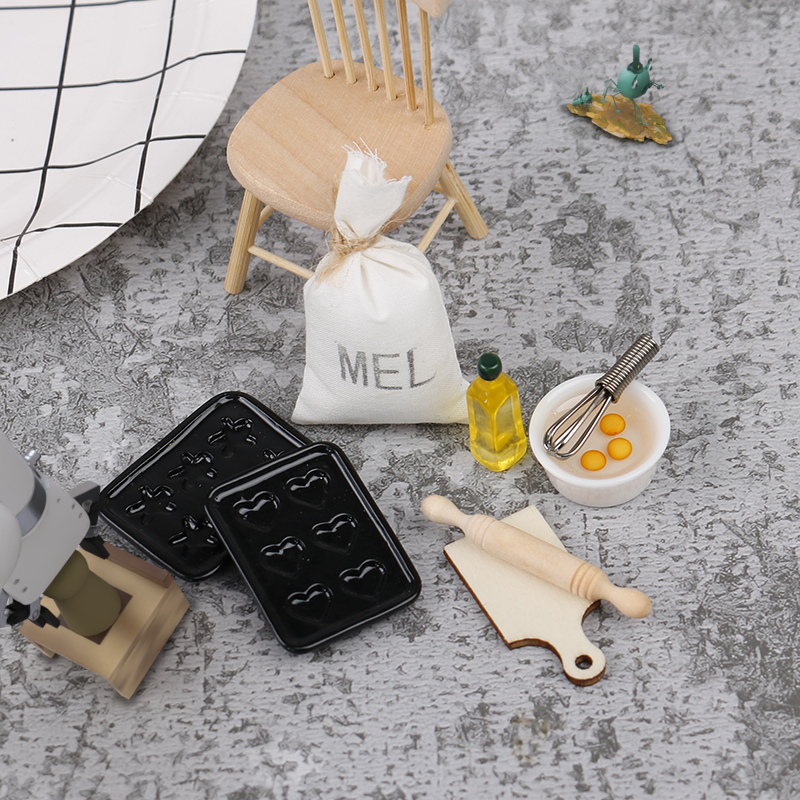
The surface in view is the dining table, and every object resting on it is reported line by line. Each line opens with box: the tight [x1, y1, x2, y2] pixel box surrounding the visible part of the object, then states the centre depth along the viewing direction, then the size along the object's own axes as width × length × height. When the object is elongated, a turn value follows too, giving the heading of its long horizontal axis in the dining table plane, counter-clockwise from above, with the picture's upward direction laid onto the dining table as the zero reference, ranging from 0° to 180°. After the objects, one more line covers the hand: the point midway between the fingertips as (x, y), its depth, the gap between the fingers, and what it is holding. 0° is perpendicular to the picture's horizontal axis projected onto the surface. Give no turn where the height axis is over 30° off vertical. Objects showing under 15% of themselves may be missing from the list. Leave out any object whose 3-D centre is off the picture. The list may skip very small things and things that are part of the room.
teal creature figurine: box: [566, 43, 673, 145], centre depth 144 cm, size 10×18×15 cm, turn 49°
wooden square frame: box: [18, 541, 191, 700], centre depth 103 cm, size 12×12×9 cm
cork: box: [42, 549, 121, 636], centre depth 96 cm, size 6×6×11 cm
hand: (72, 585), depth 95 cm, fingers open, 7 cm apart
